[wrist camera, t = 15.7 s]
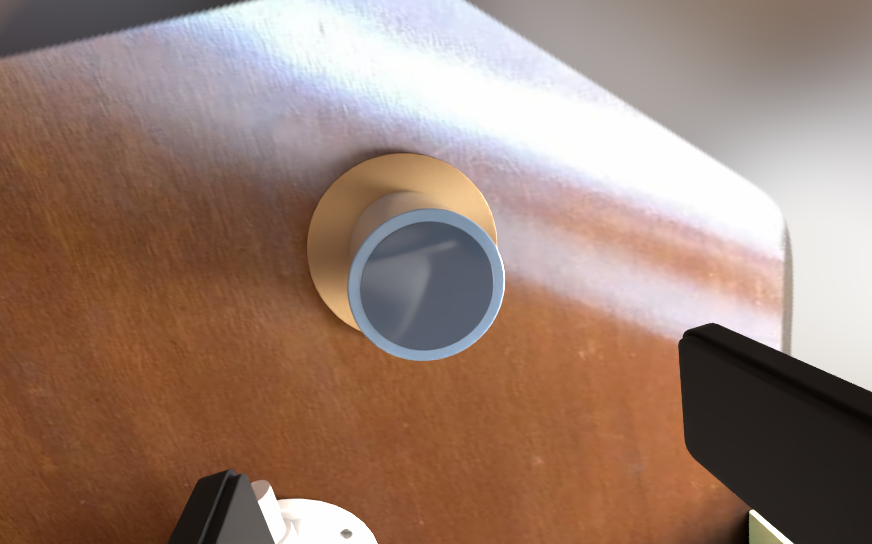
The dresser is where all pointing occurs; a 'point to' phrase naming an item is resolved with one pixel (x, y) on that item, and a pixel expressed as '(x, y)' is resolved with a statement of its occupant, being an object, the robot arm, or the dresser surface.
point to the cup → (422, 277)
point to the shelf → (763, 531)
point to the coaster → (363, 188)
